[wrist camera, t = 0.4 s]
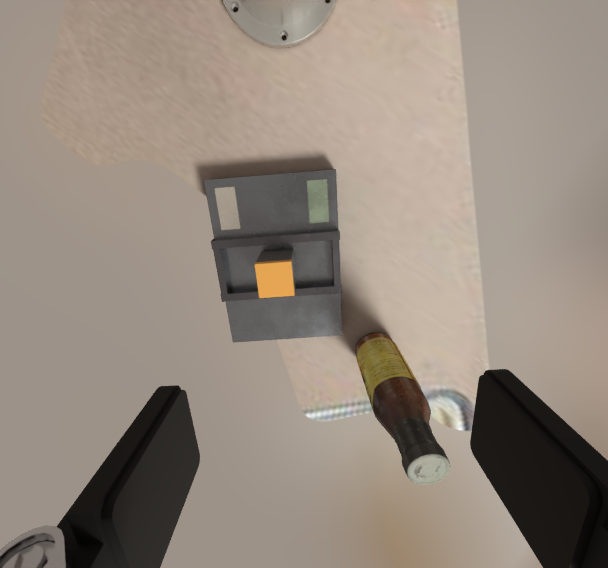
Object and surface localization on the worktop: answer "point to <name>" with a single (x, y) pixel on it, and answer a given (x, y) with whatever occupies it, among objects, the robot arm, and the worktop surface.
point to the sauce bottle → (401, 408)
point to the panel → (277, 236)
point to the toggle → (276, 273)
